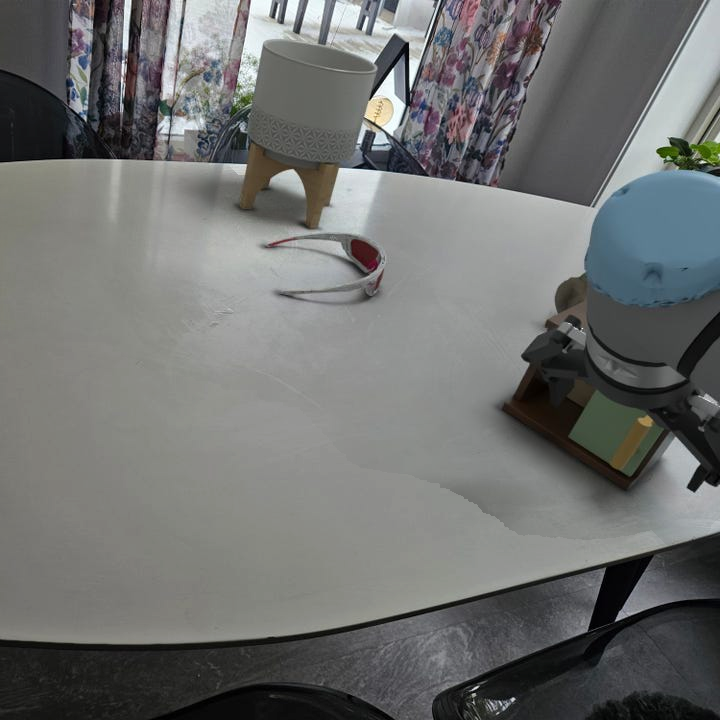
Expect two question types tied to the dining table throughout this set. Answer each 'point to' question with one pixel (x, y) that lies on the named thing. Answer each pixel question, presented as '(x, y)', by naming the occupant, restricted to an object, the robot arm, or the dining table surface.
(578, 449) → the cupboard
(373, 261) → the sunglasses
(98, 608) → the dining table surface
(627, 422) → the sliding door
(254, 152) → the planter
